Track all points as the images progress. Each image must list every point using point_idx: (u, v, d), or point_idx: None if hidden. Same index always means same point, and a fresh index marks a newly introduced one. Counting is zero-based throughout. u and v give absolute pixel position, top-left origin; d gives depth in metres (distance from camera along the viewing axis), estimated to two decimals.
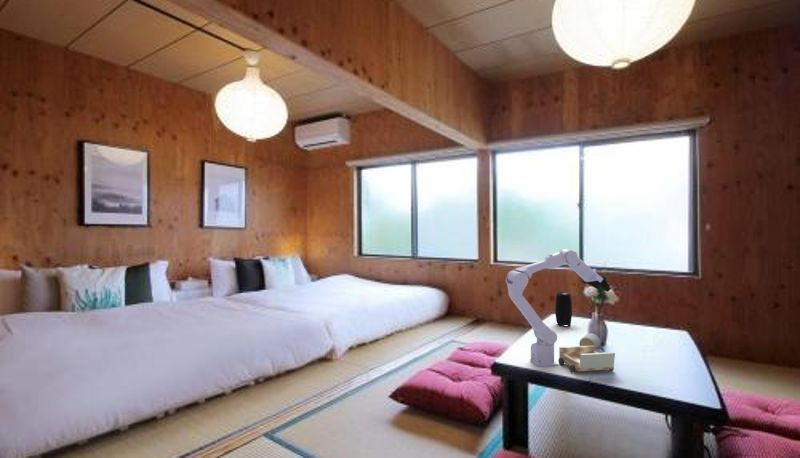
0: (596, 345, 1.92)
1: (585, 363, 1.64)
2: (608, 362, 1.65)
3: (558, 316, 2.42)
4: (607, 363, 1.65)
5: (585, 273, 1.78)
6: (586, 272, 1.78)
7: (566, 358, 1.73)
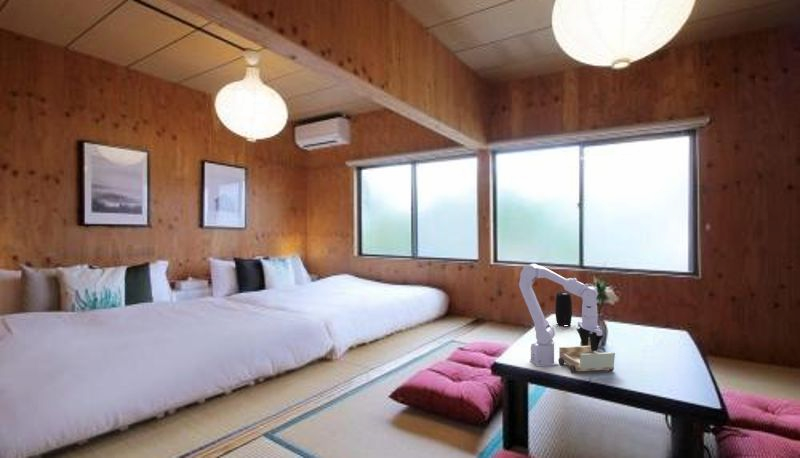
0: None
1: (585, 363, 1.64)
2: (608, 362, 1.65)
3: (558, 316, 2.42)
4: (607, 363, 1.65)
5: (590, 319, 1.67)
6: (591, 319, 1.67)
7: (566, 358, 1.73)
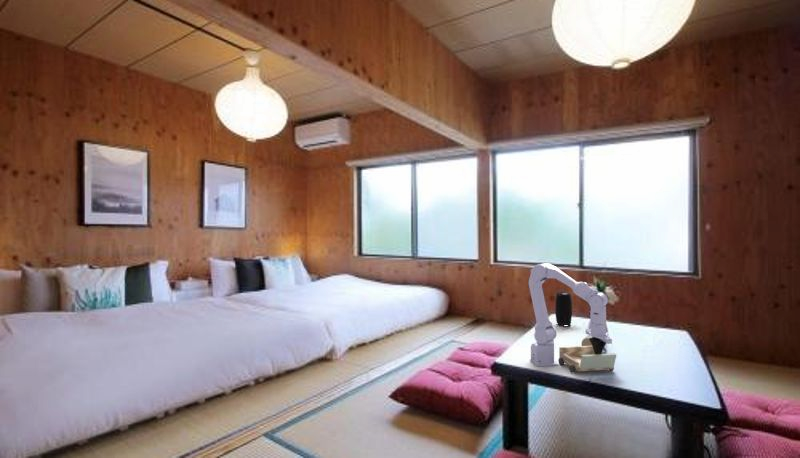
0: None
1: (585, 364, 1.63)
2: (608, 362, 1.65)
3: (558, 316, 2.42)
4: (607, 364, 1.65)
5: (599, 327, 1.61)
6: (600, 327, 1.61)
7: (566, 358, 1.73)
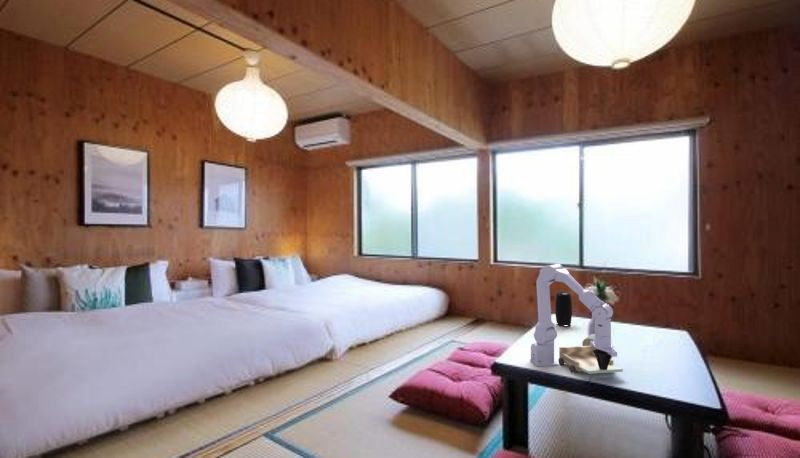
0: None
1: None
2: None
3: (558, 316, 2.42)
4: None
5: (604, 339, 1.58)
6: (605, 339, 1.58)
7: (566, 358, 1.73)
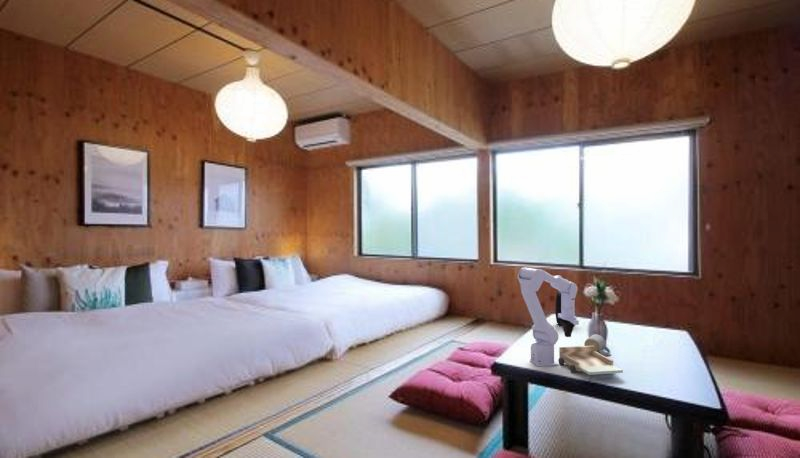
0: (601, 346, 1.91)
1: None
2: None
3: None
4: None
5: (568, 310, 1.84)
6: (569, 310, 1.84)
7: (566, 358, 1.73)
